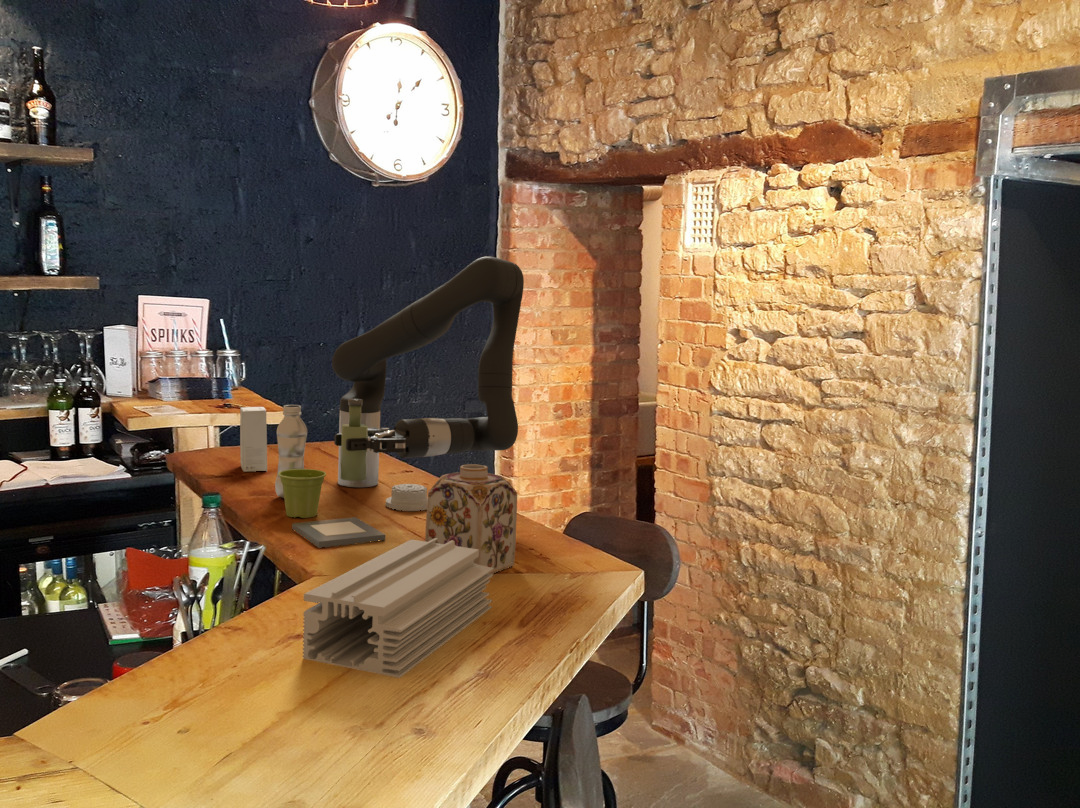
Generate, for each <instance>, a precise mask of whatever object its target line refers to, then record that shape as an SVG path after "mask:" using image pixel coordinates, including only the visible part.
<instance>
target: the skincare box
mask: <svg viewBox="0 0 1080 808" xmlns="http://www.w3.org/2000/svg"><path fill="white" fill-rule="evenodd" d="M239 411H240V412H239V413H240V416H239V417H240V418H239V420H240V421H239V428H240V429H239V431H240V432H239V433H240V434H239V438H240V439H239V441H240V442H239V443H240V445H239V446H240V447H239V449H240V452H239V453H240V467H241V470H242V471H243V472H244V473H245V472H256V471H266V472H268V436H267V435H268V433H267V427H268V426H267V424H268V423H267V409H266V408H265V407H264V406H245V407H244V406H243V407H240V409H239Z"/></svg>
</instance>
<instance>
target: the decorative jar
mask: <svg viewBox="0 0 1080 808" xmlns="http://www.w3.org/2000/svg"><path fill="white" fill-rule="evenodd" d="M488 469H489V468H488V466H487V465H484V464H483V465H482V464H476V463H473V464H472V463H471V464H470V463H469V464H463V465H460V466H459V472H458V471H457V472H451V473H446V474H442V475H441V476H440V477H439V478H438V480H437V481H436V482H435V483H434V484H433V486H432V487H431V488H430V489H429V490H427V498H428V500H427V509H426V517H425V532H424V533H425V537H424V538H425V539H424V541H425V542H429V541H430V540H432V539H434V538H438V539H437V540H436V541H435V543H439V544H446V543H448V542H449V541H451V540H453V541H454V543H455V545H456V546H459V547H465V548H472V549H478V550H479V557H477V558H476V559H474V564H478V565H481V566H482V565H483V566H486V567H487V566H488V567H491V568H492V567H493V570H492V571H490V572H489V573H490V574H493V575H495V574H494V573H496V572H498V571H500V572H502V571H501V570H503V569H505V570H507V569H506V568H508V567H510V568H512V567H513V566H514V564H515V558H516V556H515V555H516V545H517V543H516V541H517V517H518V515H517V514H518V512H517V511H518V492H517V491H516V490H515V488H514V487H513V486H512V484H511V482H509V481H508V480H507V479H506V478H505V477H504V476H502V475H500V474H499V475H498V474H494V473H489V472H488ZM511 566H512V567H511ZM508 569H509V568H508ZM503 571H504V570H503ZM489 573H488V574H489ZM498 573H499V572H498ZM496 574H497V573H496Z"/></svg>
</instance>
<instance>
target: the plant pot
mask: <svg viewBox="0 0 1080 808" xmlns="http://www.w3.org/2000/svg"><path fill="white" fill-rule="evenodd" d="M278 475H279V476H280V479H281V483H282V485H283V493H284V498H283V499H284V507H285V515H286V517H290V518H292V517H294V518H295V519H296V518H297V517H298V518H301V519H308V518H313V517H316V516H317V515H318V511H319V505H320V497H321V491H322V485H323V483H324V480H325V477H326V476H327V472H326V471H324V470H320V469H319V470H318V469H313V468H312V469H311V468H304V469H291V470H284V471H281V472H279V473H278ZM294 518H293V519H294Z"/></svg>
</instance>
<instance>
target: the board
mask: <svg viewBox="0 0 1080 808" xmlns="http://www.w3.org/2000/svg"><path fill="white" fill-rule="evenodd" d="M291 523H292V522H291ZM292 529H293V530H292ZM291 530H292V531H294V530H295V531H296V532H297V533H296V532H295V531H294V532H295V533H296V534H298V533H299V534H300V535H299V534H298V535H299V536H301V535H302V536H303V537H302V536H301V537H302V538H304V537H305V538H306V539H307V540H306V539H305V538H304V539H305V540H306V541H308V540H309V541H310V543H311V544H312V543H313V544H312V545H314V546H315V547H316V546H317V548H318V549H323V548H322V547H325V548H331V546H334V547H340V546H339V545H343V546H349V545H348V544H352V545H356V544H355V543H361V544H364V543H363V542H370V541H378V540H385V541H386V534H385V533H383V532H382V531H380V530H378V529H377V528H375V527H373V526H372V525H369V524H368V523H366V522H364V521H363V520H361V519H359V518H358V517H356V516H354V517H345V518H334V519H323V520H314V521H303V522H294V523H292V524H291ZM309 541H308V542H309ZM370 543H371V542H370Z"/></svg>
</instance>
